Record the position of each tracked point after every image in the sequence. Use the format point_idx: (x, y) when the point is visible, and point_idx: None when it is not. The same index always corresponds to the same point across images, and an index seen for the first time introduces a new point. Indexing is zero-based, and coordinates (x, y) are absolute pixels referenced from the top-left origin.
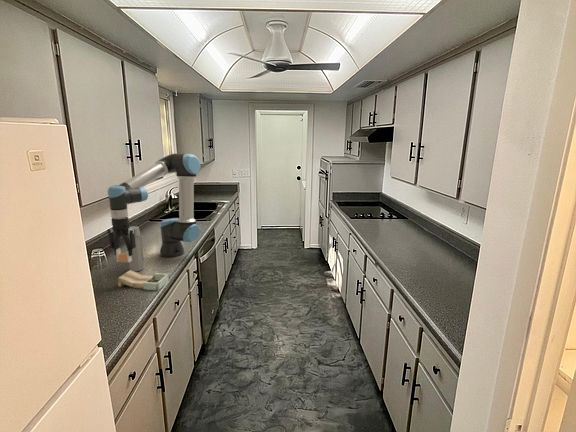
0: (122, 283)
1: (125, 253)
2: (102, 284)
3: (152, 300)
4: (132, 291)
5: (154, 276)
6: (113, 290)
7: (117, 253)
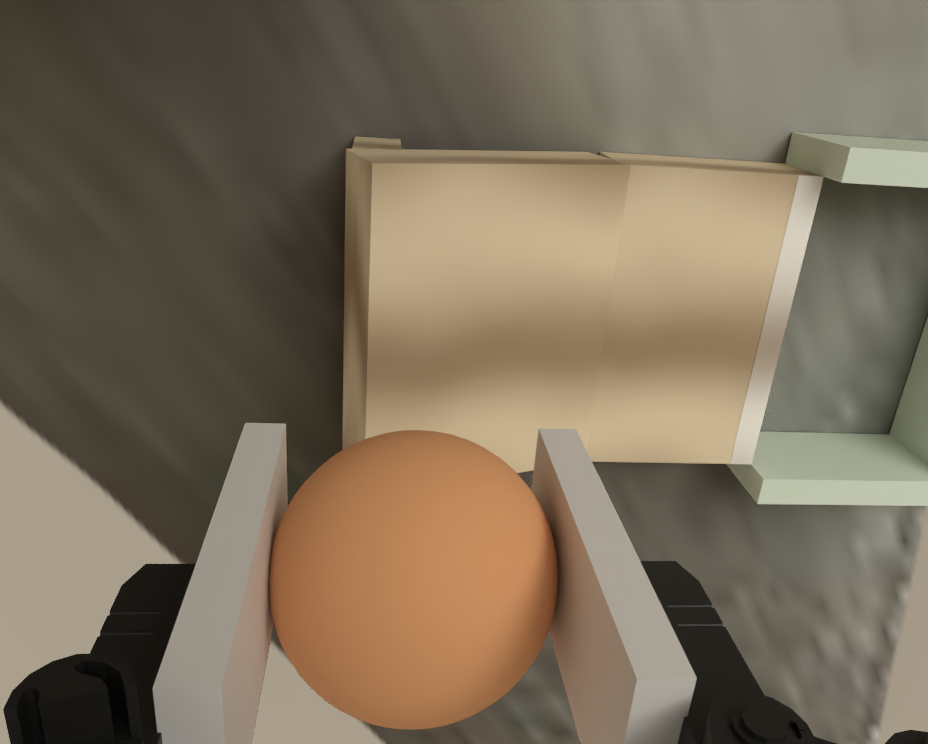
0: None
1: (500, 663)
2: (62, 379)
3: (888, 651)
4: None
5: (816, 173)
6: None
7: (250, 725)
